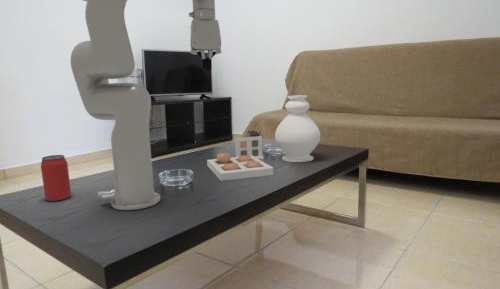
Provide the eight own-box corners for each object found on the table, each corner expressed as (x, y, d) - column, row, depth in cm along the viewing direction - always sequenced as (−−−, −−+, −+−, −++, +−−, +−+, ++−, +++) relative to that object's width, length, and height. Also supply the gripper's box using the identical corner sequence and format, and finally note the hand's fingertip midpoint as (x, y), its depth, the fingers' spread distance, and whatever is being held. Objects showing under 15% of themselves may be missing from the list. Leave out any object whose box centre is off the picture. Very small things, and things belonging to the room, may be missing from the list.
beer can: (53, 203, 97) (47, 160, 95) (40, 199, 100) (34, 158, 98) (76, 196, 102) (71, 155, 100) (63, 193, 106) (58, 153, 104)
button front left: (226, 175, 118) (225, 166, 117) (222, 172, 122) (222, 163, 122) (240, 174, 119) (239, 165, 119) (236, 170, 124) (235, 162, 123)
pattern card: (237, 161, 140) (236, 139, 138) (234, 159, 144) (234, 137, 142) (263, 159, 143) (263, 137, 142) (260, 157, 147) (260, 135, 145)
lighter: (264, 153, 155) (264, 130, 153) (260, 154, 152) (259, 131, 150) (248, 151, 159) (248, 129, 157) (244, 153, 156) (244, 130, 154)
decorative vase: (299, 166, 130) (299, 97, 125) (266, 159, 143) (264, 96, 139) (329, 158, 141) (330, 94, 137) (295, 152, 155) (295, 94, 150)
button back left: (218, 164, 127) (218, 155, 126) (215, 161, 131) (215, 153, 131) (231, 162, 128) (231, 154, 128) (228, 160, 133) (228, 152, 132)
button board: (221, 181, 114) (220, 173, 113) (207, 166, 134) (207, 159, 134) (273, 174, 119) (273, 167, 119) (252, 161, 140) (252, 155, 139)
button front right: (249, 173, 120) (248, 164, 120) (244, 170, 125) (244, 161, 124) (262, 172, 121) (262, 163, 121) (257, 168, 126) (257, 160, 125)
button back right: (240, 166, 129) (240, 158, 129) (236, 163, 134) (236, 156, 133) (253, 165, 131) (252, 157, 130) (249, 162, 135) (248, 154, 135)
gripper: (183, 13, 116) (187, 71, 120) (228, 15, 121) (230, 70, 124) (180, 17, 123) (184, 71, 127) (222, 18, 128) (225, 71, 131)
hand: (207, 70), depth 125 cm, fingers closed
